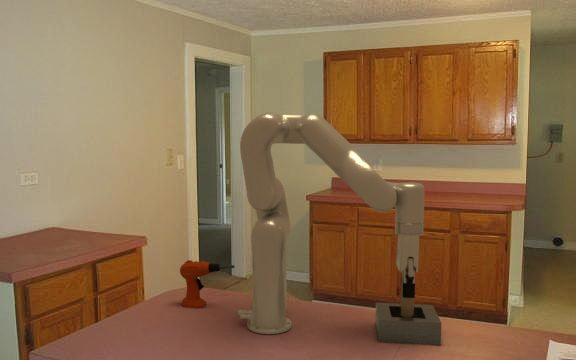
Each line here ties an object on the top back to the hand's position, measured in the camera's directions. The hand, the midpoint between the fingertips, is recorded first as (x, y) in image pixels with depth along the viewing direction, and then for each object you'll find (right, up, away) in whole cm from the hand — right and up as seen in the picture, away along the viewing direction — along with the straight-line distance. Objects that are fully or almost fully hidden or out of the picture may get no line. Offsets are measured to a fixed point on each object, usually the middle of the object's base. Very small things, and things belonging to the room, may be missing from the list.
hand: (407, 294), depth 138 cm
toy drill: (-58, -9, +22) cm, 63 cm away
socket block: (0, -11, +1) cm, 11 cm away
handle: (0, -6, +1) cm, 6 cm away
